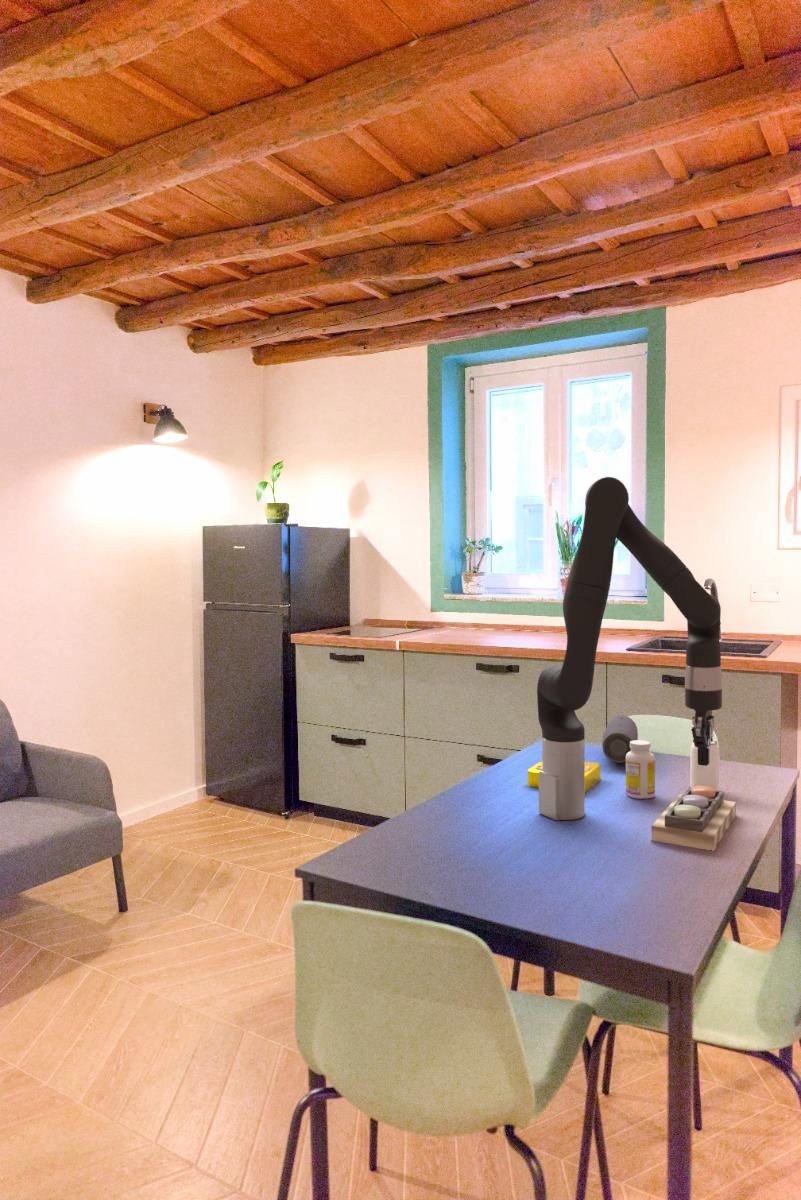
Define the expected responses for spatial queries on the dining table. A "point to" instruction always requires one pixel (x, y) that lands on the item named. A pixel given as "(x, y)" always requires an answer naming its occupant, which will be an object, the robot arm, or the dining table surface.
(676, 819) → the button panel
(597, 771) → the element tile
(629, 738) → the bluetooth speaker
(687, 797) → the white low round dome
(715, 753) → the can
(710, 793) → the button terracotta
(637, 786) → the supplement bottle
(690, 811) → the button sage
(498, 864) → the dining table surface
